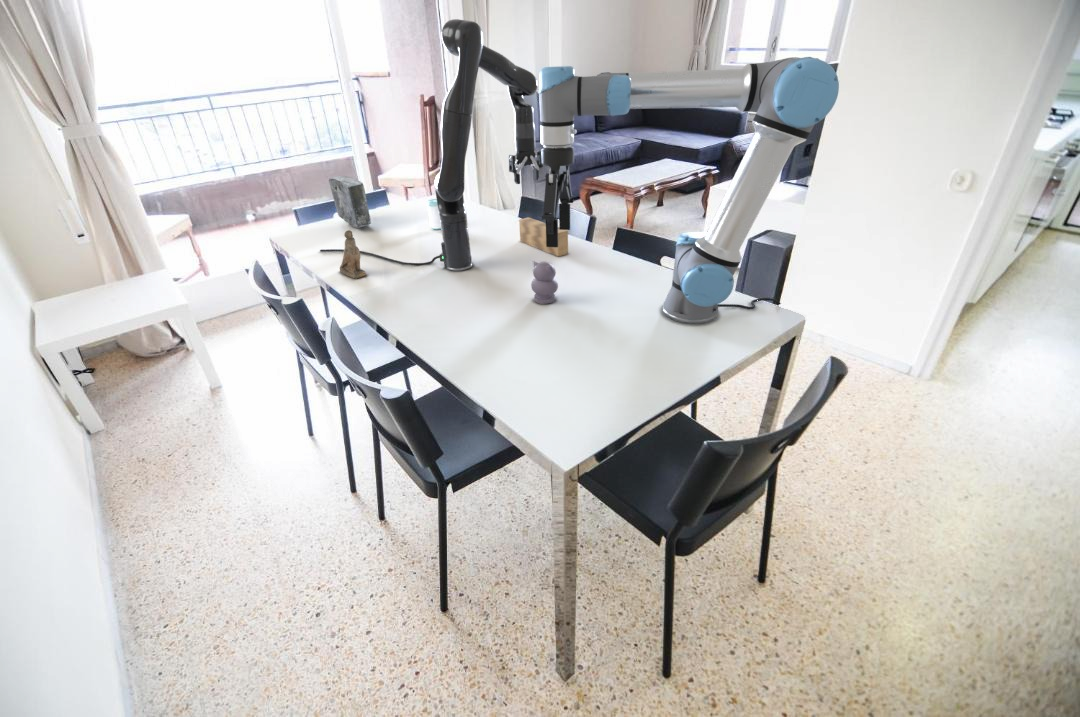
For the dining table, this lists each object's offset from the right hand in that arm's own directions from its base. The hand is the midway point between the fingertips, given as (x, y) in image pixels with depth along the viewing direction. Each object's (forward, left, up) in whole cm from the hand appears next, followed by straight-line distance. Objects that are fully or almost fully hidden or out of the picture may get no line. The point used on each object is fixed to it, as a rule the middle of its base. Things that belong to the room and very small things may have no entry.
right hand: (558, 237), depth 123 cm
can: (+35, -107, -26) cm, 116 cm away
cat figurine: (+1, -20, -26) cm, 33 cm away
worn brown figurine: (+65, -58, -26) cm, 91 cm away
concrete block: (+73, -122, -26) cm, 144 cm away
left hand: (-2, -77, -2) cm, 77 cm away
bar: (-7, -69, -26) cm, 74 cm away
